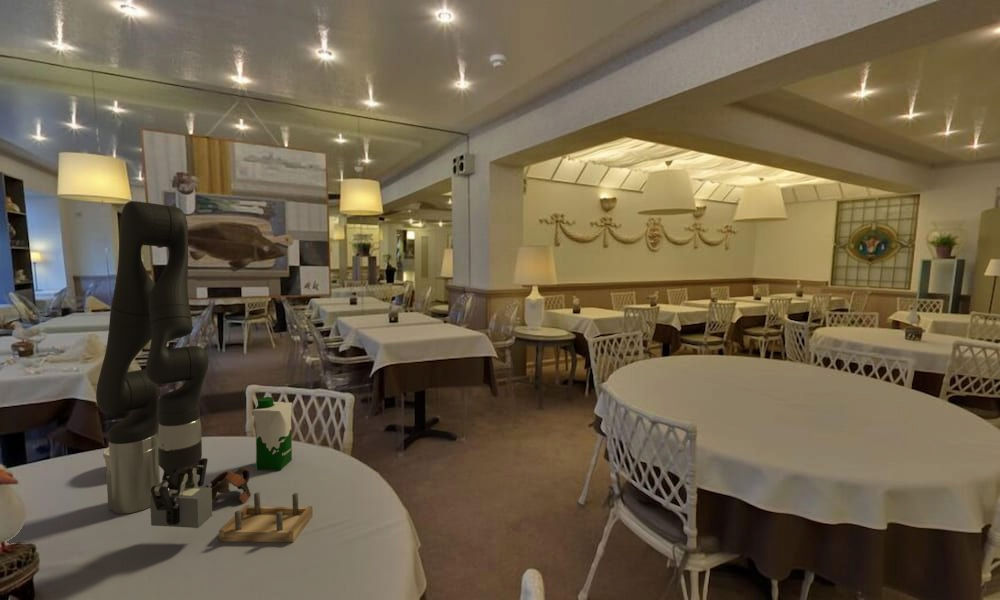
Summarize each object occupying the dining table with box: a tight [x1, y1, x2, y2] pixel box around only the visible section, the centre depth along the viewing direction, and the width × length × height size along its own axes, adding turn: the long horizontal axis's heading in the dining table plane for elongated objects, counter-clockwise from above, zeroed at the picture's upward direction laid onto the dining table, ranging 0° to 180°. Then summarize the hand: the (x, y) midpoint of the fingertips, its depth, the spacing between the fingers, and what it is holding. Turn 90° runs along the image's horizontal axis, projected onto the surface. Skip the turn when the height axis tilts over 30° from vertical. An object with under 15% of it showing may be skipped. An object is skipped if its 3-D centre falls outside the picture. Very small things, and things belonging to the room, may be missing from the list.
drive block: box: [150, 486, 213, 529], centre depth 96 cm, size 10×4×7 cm, turn 89°
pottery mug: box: [205, 466, 252, 505], centre depth 114 cm, size 12×10×8 cm
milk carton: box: [252, 396, 293, 471], centre depth 132 cm, size 9×9×20 cm
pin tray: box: [218, 491, 313, 543], centre depth 102 cm, size 16×10×6 cm, turn 90°
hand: (182, 516), depth 96 cm, fingers closed on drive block, 4 cm apart
